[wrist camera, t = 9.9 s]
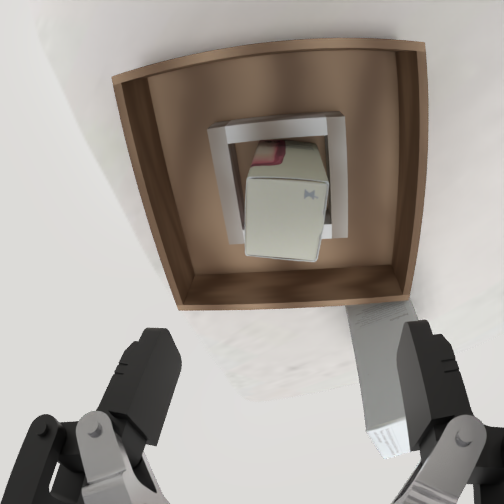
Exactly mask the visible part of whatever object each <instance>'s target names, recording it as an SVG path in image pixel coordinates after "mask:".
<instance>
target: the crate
mask: <svg viewBox="0 0 504 504" xmlns="http://www.w3.org/2000/svg"><path fill="white" fill-rule="evenodd" d="M112 82H113V87H114V92H115V97H116V101H117V106H118V110H119V115H120V119H121V123H122V128H123V132H124V136H125V140H126V144H127V148H128V152H129V156H130V159H131V163H132V167H133V171H134V174H135V178H136V182H137V185H138V189H139V192H140V196H141V199H142V202H143V206H144V209H145V212H146V216H147V219H148V222H149V226H150V229H151V232H152V235H153V238H154V241H155V244H156V247H157V251H158V254H159V257H160V260H161V263H162V265H163V268H164V271H165V274H166V277H167V280H168V283H169V286H170V288H171V291H172V294H173V297H174V300H175V302H176V305H177V308H178V310H254V309H284V308H306V307H325V306H342V305H357V304H371V303H383V302H395V301H407V300H409V296H410V291H411V286H412V281H413V276H414V270H415V264H416V258H417V252H418V246H419V239H420V232H421V224H422V216H423V207H424V197H425V186H426V172H427V154H428V79H427V62H426V49H425V42H416V41H406V40H393V39H374V38H319V39H300V40H286V41H276V42H266V43H258V44H250V45H243V46H236V47H230V48H224V49H218V50H212V51H207V52H202V53H197V54H192V55H188V56H183V57H179V58H175V59H171V60H167V61H163V62H159V63H155V64H152V65H148V66H144V67H141V68H138V69H134V70H131V71H128V72H125V73H121V74H118V75H115V76H112ZM260 140H282V141H298V142H307V143H314V144H316V145H317V147H318V150H319V153H320V156H321V160H322V163H323V166H324V169H325V172H326V175H327V178H328V181H329V190H328V198H327V206H326V213H325V221H324V227H323V232H322V239H321V245H320V250H319V255H318V259H317V261H316V262H305V261H293V260H283V259H273V258H262V257H254V256H246V255H245V235H244V234H245V193H246V179H247V176H248V173H249V170H250V167H251V164H252V161H253V158H254V155H255V152H256V148H257V146H258V143H259V141H260Z"/></svg>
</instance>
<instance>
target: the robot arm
mask: <svg viewBox="0 0 504 504" xmlns="http://www.w3.org/2000/svg"><path fill="white" fill-rule="evenodd" d="M396 361H397V370H398V375H399V381H400V386H401V392H402V398H403V404H404V410H405V416H406V423H407V430H408V438H409V446H410V452H411V451H417V450H420V455H421V460H420V461H419V463H418V465H417V466H416V468H415V470H414V471H413V473H412V474H411V476H410V477H409V479H408V480H407V482H406V483H405V485H404V486H403V488H402V489H401V490H400V492H399V493H398V495H397V496H396V497H395V499H394V500H393V502H392V503H391V504H456V503H457V501H458V498H459V497H460V495H461V493H462V491H463V489H464V487H465V485H466V484H473V487H474V504H504V428H500V427H490V426H486V425H484V424H483V423H482V422H481V421H480V420H479V419H478V418H476V417H475V416H474V415H473V413H472V411H471V407H470V404H469V400H468V397H467V393H466V390H465V386H464V383H463V380H462V377H461V373H460V372H459V367H458V364H457V361H455V355H454V352H453V349H452V346H451V344H450V343H449V342H448V341H447V340H446V339H445V337H444V336H443V335H442V334H436V335H433V334H432V331H431V328H430V325H429V323H428V321H427V320H418V321H409V322H405V323H404V325H403V329H402V333H401V338H400V342H399V346H398V350H397V358H396ZM181 363H182V361H181V356H180V353H179V351H178V349H177V347H176V345H175V343H174V341H173V339H172V336H171V334H170V332H169V331H168V330H167V329H166V328H146V329H145V330H144V331H143V333H142V336H141V337H140V339H139V342H138V341H134V342H133V343H132V344H131V345H130V346H129V347H128V348H127V349H126V350H125V351H124V353H123V355H122V357H121V360H120V362H119V365H118V366H117V368H116V370H115V374H114V375H113V376H112V378H111V380H110V383H109V385H108V387H107V389H106V391H105V394H104V396H103V398H102V400H101V402H100V404H99V407H98V408H97V410H96V411H92V412H89V413H87V414H85V415H84V416H83V417H82V418H81V419H80V420H79V421H76V422H62V423H59V422H58V421H57V420H56V419H55V418H54V417H53V416H51V415H48V414H44V415H41V416H39V417H37V418H36V419H35V420H34V421H33V422H32V424H31V426H30V428H29V430H28V433H27V435H26V437H25V440H24V442H23V444H22V447H21V449H20V452H19V454H18V457H17V459H16V462H15V465H14V467H13V470H12V472H11V475H10V478H9V481H8V484H7V486H6V489H5V493H4V496H3V498H2V501H1V504H170V503H169V502H168V501H167V499H166V498H165V497H164V495H163V494H162V492H161V490H160V487H159V485H158V483H157V481H156V479H155V476H154V474H153V472H152V469H151V467H150V465H149V462H148V461H147V458H146V455H145V453H144V452H143V450H144V447H145V444H148V445H153V446H157V443H158V440H159V437H160V433H161V430H162V427H163V424H164V421H165V418H166V415H167V412H168V408H169V405H170V402H171V399H172V396H173V393H174V390H175V386H176V384H177V381H178V378H179V375H180V372H181V366H182V364H181ZM57 462H58V463H60V466H59V469H58V472H57V475H56V478H55V481H54V484H53V487H52V490H51V492H49V484H50V481H51V478H52V475H53V472H54V469H55V466H56V464H57Z"/></svg>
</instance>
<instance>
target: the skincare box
mask: <svg viewBox="0 0 504 504" xmlns="http://www.w3.org/2000/svg"><path fill="white" fill-rule="evenodd" d="M345 307H346V312H347V316H348V321H349V326H350V332H351V337H352V343H353V348H354V353H355V359H356V364H357V370H358V376H359V382H360V388H361V395H362V401H363V408H364V416H365V424H366V433H367V434H368V436H369V437H370V439H371V441H372V442H373V444H374V445H375V447H376V449H377V450H378V452H379V453H380V454H381V456H382V457H383V458H384V459H387V458H391V457H395V456H398V455H401V454H405V453H408V452H410V446H409V438H408V430H407V423H406V416H405V410H404V404H403V398H402V392H401V386H400V381H399V375H398V370H397V361H396V358H397V350H398V346H399V342H400V338H401V333H402V329H403V325H404V323H405V322H409V321H418V317H417V315H416V312H415V310H414V307H413V305H412V302H411V300H410V298H409V300H407V301H395V302H383V303H371V304H357V305H345Z"/></svg>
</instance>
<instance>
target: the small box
mask: <svg viewBox="0 0 504 504" xmlns="http://www.w3.org/2000/svg"><path fill="white" fill-rule="evenodd" d="M328 190H329V181H328V178H327V175H326V172H325V169H324V166H323V163H322V160H321V156H320V153H319V150H318V147H317V145H316V144H314V143H307V142H298V141H282V140H260V141H259V143H258V146H257V148H256V152H255V155H254V158H253V161H252V164H251V167H250V170H249V173H248V176H247V179H246V193H245V234H244V235H245V255H246V256H254V257H262V258H273V259H283V260H293V261H305V262H316V261H317V259H318V255H319V250H320V245H321V239H322V232H323V227H324V221H325V213H326V206H327V198H328Z"/></svg>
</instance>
